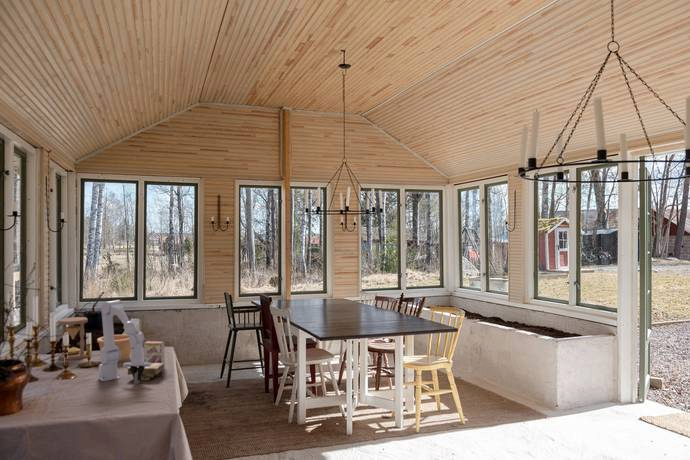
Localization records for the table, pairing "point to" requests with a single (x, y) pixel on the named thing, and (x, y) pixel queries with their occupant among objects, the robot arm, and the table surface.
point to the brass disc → (145, 378)
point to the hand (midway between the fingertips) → (137, 379)
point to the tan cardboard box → (152, 369)
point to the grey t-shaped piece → (141, 377)
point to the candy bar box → (154, 352)
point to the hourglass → (73, 330)
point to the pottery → (120, 342)
